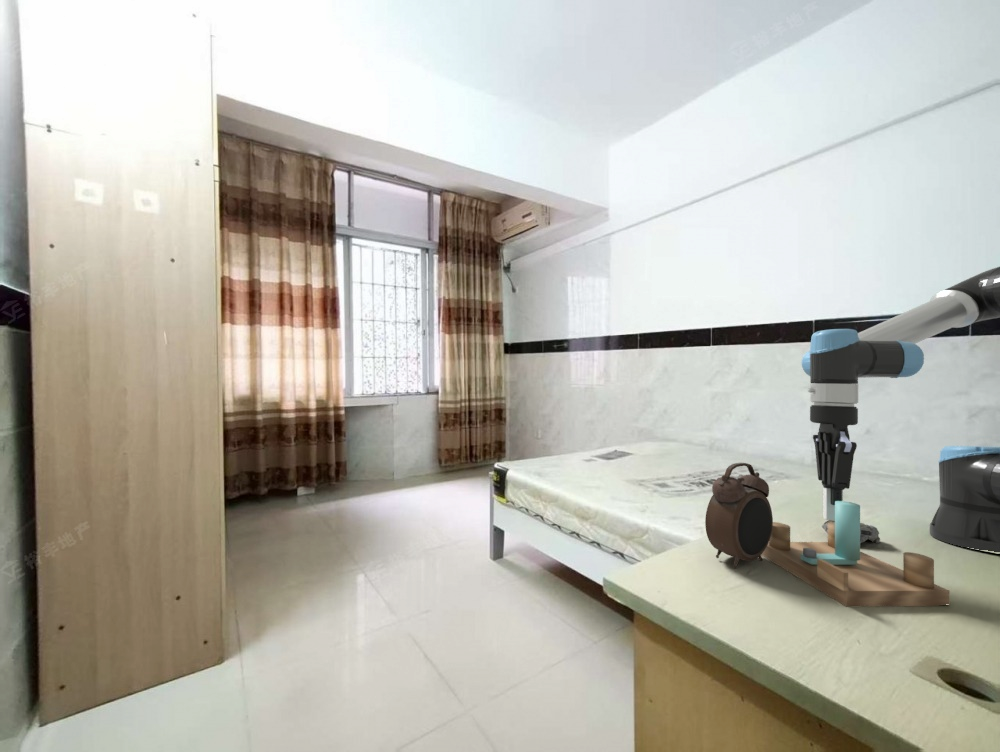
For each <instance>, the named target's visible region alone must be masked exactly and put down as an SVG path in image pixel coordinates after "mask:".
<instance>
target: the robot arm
mask: <svg viewBox="0 0 1000 752" xmlns="http://www.w3.org/2000/svg"><path fill="white" fill-rule="evenodd" d="M998 318H1000V266H997V267H994V268H990V269H988V270H985V271H983V272H981V273H978V274H976V275H974V276H972V277H969V278H968V279H964V280H963V281H961V282H958V283H956V284H954V285H953V286H952V285H951V286H950V287H948V288H946V289H943V290H941V291H939V292H937V293H935V294H934V295H933V296H932V297H931V298H930V300H929V301H927V302H925V303H922V304H920V305H918V306H916V307H913V308H911V309H909V310H907V311H904V312H903V313H899V314H897V315H896V316H894V317H892V318H889V319H886V320H884V321H882V322H880V323H878V324H875V325H873V326H871V327H868V328H866V329H865V330H862V331H859V332H858V331H857V330H856V329H852V328H833V329H824V330H818V331H815V332H814V333H813V334H812V335H811V338H810V339H811V340H810V345H809V346H810V347H809V350H808V351H807V352H806V353H804V354H803V356H802V359H801V368H802V370H803V372H804V373H805V375H807V376H809V377H810V381H809V382H810V387H809V388H808V389H807V392H808V393H809V395H810V399H809V400H810V402H812V403H813V404H811V405H810V406H809V421H810V422H811V423H814V424H819V427H818V432H817V434H813V435H812V439H813V444H814V450H815V462H816V469H817V470H816V471H817V479H818V481H821V485H822V487H823V488H822V489H823V490H822V491H823V493H822V495H823V498H822V499H823V500H822V501H823V502H822V504H823V505H822V508H823V509H822V512H823V513H822V514H823V515H822V516H823V517H822V518H823V519H825V520H826V521H828V520H832V521H835V501H844V499H843V497H844V492H843V491H844V490H845V489H847V490H848V489H850V485H851V479H852V473H853V472H852V471H853V465H854V464H853V463H854V456H855V452H856V450H857V447H858V446H857V442H854V441H851V439H850V431H849V428H848V427H849V426H855V425H857V424H858V423H859V421H858V420H859V408H857V406H855V405H857V404H858V403H859V379H860V378H862V379H863V378H891V379H897V378H909V377H913V376H914V375H916V374H917V373H919V371H921V369H922V367H923V366H924V363H925V361H924V360H925V358H924V357H925V354H924V352H923V349H922V348H921V347H920V346H919V345H917V344H918V343H920V342H922V341H925V340H927V339H929V338H931V337H934V336H936V335H938V334H941V333H943V332H945V331H947V330H950V329H952V328H956V329H958V328H964V327H967V326H968V327H969V325H972V324H974V323H977V322H982V321H987V320H993V319H998ZM938 473H939V477H938V478H939V481H938V482H939V506H938V508H937V510H936V512H935V513H934V516H933V518H932V519H931V522H930V524H929V535H930V536H931V537H933V538H934V539H937V540H938V541H940V542H944V543H946V544H949V543H950V545H952V544H953V545H952V546H956V545H958V546H957V547H959V546H962V547H961V548H963V547H969V548H974V549H979V550H988V551H994V552H1000V446H969V445H968V446H966V445H964V446H963V445H960V446H959V445H947V446H944V447H942V448H941V450H940V453H939V460H938Z"/></svg>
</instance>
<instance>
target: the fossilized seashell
mask: <svg viewBox="0 0 1000 752" xmlns="http://www.w3.org/2000/svg"><path fill="white" fill-rule="evenodd" d="M830 522H833V523H835V521H832V520H826V521H824V523H823V524H822V525H821V527H822V529H823V530H824V531H825V532H826V533H827V534H828V523H830ZM879 534H880V531H879V530H878V528H877V527H875V526H874V525H871V524H870V525H869V524H865V523H864V522H860V544H862V543H864V542H867V540H869V541H870V542H872V543H874V544H879V543H880V542H881V539H880V538H881V537H880V536H879Z"/></svg>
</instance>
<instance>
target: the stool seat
mask: <svg viewBox="0 0 1000 752" xmlns="http://www.w3.org/2000/svg"><path fill="white" fill-rule="evenodd" d="M803 548H810V549H814V550H816V551H817V554H835V523H833V522H830V523H828V533H827V541H808V542H807V541H791V526H790V525H789V524H786V523H782V522H776V521H773V527H772V533H771V537H770V540H769V543H768V545H767V547H766V549H765V550H764V552H763V553H762V554H761V557H762V556H763V557H764V558H766V559H768V561H770V562H772V563H774V564H775V565H777V566H778V567H781V569H784V570H785V571H787V572H788V573H790V574H791V575H794V576H795V577H797V578H798V579H800V580H802V581H804V582H805V583H807V584H809V585H810V586H812V587H814V588H815V589H817V590H818V591H821V593H823V594H825V595H827V596H828V597H830V598H831V599H832V600H834V601H835V600H836V601H837V603H840V604H842V605H843V606H845V607H846V608H847V607H940V606H939V605H946V604H950V599H951V598H950V590H949V589H947V588H945V587H942V586H940V585H938V584H935V560H934V558H932V557H930V556H928V555H924V554H921V553H916V552H910V551H909V552H907V551H905V552H903V558H902V560H903V563H902V564H903V567H902V568H903V569H901V568H899V567H896V566H895V565H892V564H890V563H887V562H885V561H883V560H881V559H878V558H876V557H873V556H871V555H869V554H867V553H865V552H863V551H860V560H858V561H857V565H832V564H830V563H828V562H826V561H824V560H822V559H817V565H811V564H809V563H807V562H806V561H804V560H802V559H801V554H803ZM950 605H951V604H950Z"/></svg>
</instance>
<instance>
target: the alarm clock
mask: <svg viewBox="0 0 1000 752" xmlns="http://www.w3.org/2000/svg"><path fill="white" fill-rule="evenodd" d="M738 467H746V468H747V470H748V473H749V474H743V475H741V476H740V477H737V478H736V477H733V476H731V475H732V472H733V470H735V469H736V468H738ZM711 491H712V496H711V497H710V500H709V502H708V504H707V507H706V512H705V519H704V520H705V522H704V524H705V532H706V536H707V539H708V541H709V543H710V545H712V547H713V548H714V549H716V550H717V553H716V555H715V557H716V559H719V558H720V555H721V554H722V553H724V554H725V555H727V556H730V557H733V558H734V561H733V564H732V567H733V568H734V569H737V565H738V564H739V561H740V560H742V561H748V562H751V561H754V560H757V559H758V560H759V561H760V562H761V561H763V557H762V555H761V554H762V553H763V552H764V550H765V549H766V547H767V545H768V543H769V540H770V537H771V533H772V527H773V522H774V518H773V512H772V507H771V504H770V501H769V499H768V497H769V495H770V487H769V484H768V482H767V481H766V480H764V479H763V478H762V477H760V472H758V471H756V472H755V470H754V467H753V466H752V464H751V463H750V464H749V463H746V462H736V463H735V462H734V463H732V464H731V465H728V466H727V468H726V470H725V473H724V474H723V475H721V477H717V479H715V481H713V483H712V486H711Z"/></svg>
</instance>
